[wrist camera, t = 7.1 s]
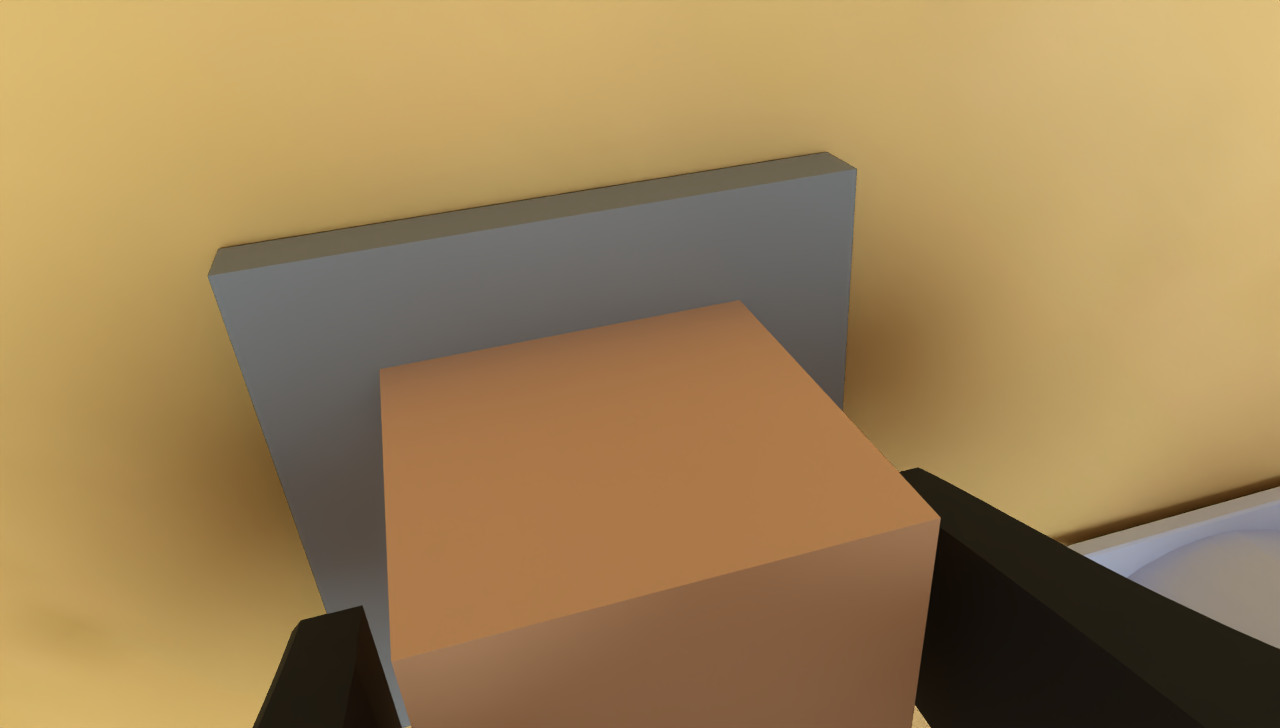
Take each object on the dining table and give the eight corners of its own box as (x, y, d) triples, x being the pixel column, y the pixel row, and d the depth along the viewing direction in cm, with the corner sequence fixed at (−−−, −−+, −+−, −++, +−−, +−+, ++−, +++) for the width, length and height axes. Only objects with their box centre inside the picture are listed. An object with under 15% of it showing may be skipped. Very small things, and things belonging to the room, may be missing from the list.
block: (739, 299, 11) (939, 517, 7) (742, 563, 13) (896, 833, 9) (378, 369, 10) (390, 661, 6) (448, 639, 12) (488, 974, 8)
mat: (826, 151, 11) (856, 169, 10) (810, 575, 15) (831, 608, 14) (218, 248, 10) (207, 276, 9) (370, 694, 13) (370, 737, 13)
